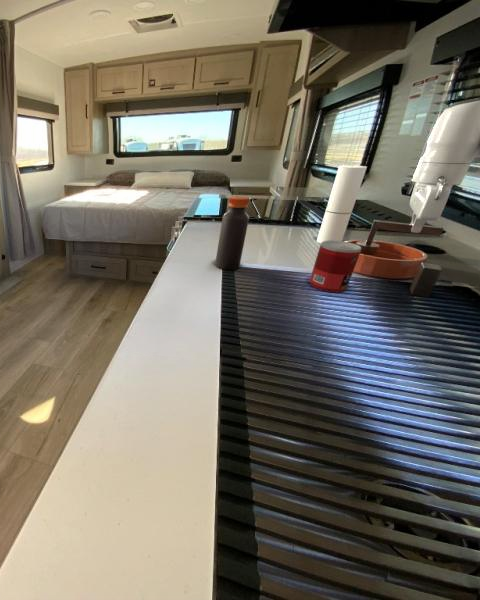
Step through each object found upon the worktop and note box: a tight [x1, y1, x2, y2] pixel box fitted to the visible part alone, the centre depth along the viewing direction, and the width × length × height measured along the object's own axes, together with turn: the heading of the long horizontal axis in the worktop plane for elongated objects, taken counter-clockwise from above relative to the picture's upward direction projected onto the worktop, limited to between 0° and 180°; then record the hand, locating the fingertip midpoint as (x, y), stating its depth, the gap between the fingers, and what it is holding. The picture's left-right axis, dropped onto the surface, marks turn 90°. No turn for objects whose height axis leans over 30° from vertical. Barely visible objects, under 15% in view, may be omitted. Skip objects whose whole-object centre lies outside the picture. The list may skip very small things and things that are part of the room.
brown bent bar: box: [356, 219, 444, 255], centre depth 90 cm, size 16×5×9 cm, turn 53°
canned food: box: [309, 240, 361, 293], centre depth 82 cm, size 8×8×11 cm
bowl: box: [344, 239, 428, 280], centre depth 94 cm, size 19×19×6 cm
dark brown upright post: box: [409, 262, 442, 298], centre depth 78 cm, size 3×4×7 cm
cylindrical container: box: [316, 165, 368, 244], centre depth 111 cm, size 7×7×25 cm
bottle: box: [214, 196, 250, 271], centre depth 95 cm, size 7×7×20 cm
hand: (414, 230), depth 87 cm, fingers closed on brown bent bar
